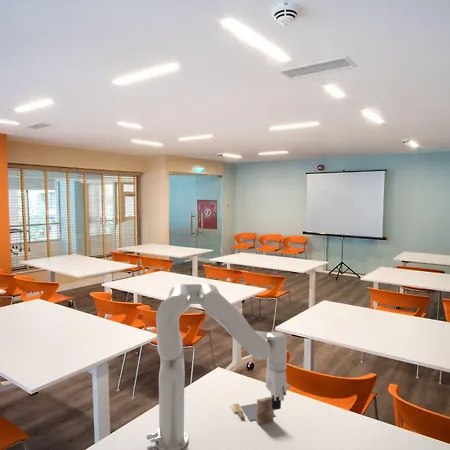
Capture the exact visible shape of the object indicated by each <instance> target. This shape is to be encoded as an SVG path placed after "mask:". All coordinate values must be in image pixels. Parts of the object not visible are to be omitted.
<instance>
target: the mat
mask: <svg viewBox="0 0 450 450" xmlns="http://www.w3.org/2000/svg"><path fill="white" fill-rule="evenodd" d="M240 407H241V409H242V410H243V412H244V413H243V414H245V416H246V418H247V419H248V420H249V422H253V421H256V420H257V402H256V403H251V404H244V405H241V406H240ZM274 417H276V414H275V413H274V415H273V418H274Z"/></svg>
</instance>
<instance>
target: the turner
mask: <svg viewBox="0 0 450 450" xmlns="http://www.w3.org/2000/svg"><path fill="white" fill-rule="evenodd" d="M229 407H230V409H231V410H232V412H233V413H234V414H237V415H238V417H239V418H240V420H241V421H242V420H245V419H246V418H245V416H246V415H244V413H243V412H244V411H243V409H242V408H241V406H240V404H239V403H234V404H230V405H229Z"/></svg>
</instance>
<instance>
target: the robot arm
mask: <svg viewBox="0 0 450 450" xmlns="http://www.w3.org/2000/svg"><path fill="white" fill-rule="evenodd" d="M191 305H199V306H200V307H201V309H203V310H204V311H205V312H206V314H208V315H209V316H210V317H211V318H213V319H214V320H215V321H216V322H217V323H218V324H219V325H221V326H222V328H224V329H225V330H226V331H227V333H228V334H229V335H230V336H231V337H232V338H233V339H234V340H235V341H236V343H238V344H239V345H240V346H241V347H242V348H243V349H244V350H245V351H246V352H247V353H248V354H249V355H251V356H252V357H253V358H254V359H255V360H258V361H265V360H266V363H267V364H266V371H265V387H266V389H267V390H268V391H269V392H270V394H271V395H270V397H272V408H273V410H274V411H276V410H280V409H281V408H282V402H283V401H285V396H286V395H287V389H288V388H287V386H288V385H287V384H288V383H287V382H288V381H287V371H286V370H287V346H288V345H287V343H288V342H287V341H288V340H287V335H286V333H284V332H283V331H282V332H281V331H270V332H269V331H260V330H255V329H253V327H252V326H251V325H250V323H248V321H247V320H246V318H245V317H244V315H243V313H241V311H239V310H238V309H237V307H235V306H234V305H233V304H232V303H230V301H229V300H228V299H226V298H225V297H224V296H223V295H222V294H221V293H220V292H219V289H218V287H217V286H215V285H214V284H209V283H178V284H175V285H174V286H172V287H171V288H170V291H169V294H168V297H167V298H166V299H165V300H164V301H162V302H161V304H160V305H159V307H158V308H157V310H156V312H155V313H156V314H155V325H156V340H157V347H156V348H157V353H158V355H159V357H160V358H159V359H160V366H159V367H160V368H159V373H158V405H159V407H158V411H159V412H158V414H159V415H158V423H159V424H158V428H157V431H154V432H152V433H147V434H146V440H150V444H151V443H154V445H155V447H156V448H157V449H158V450H182V449H184V448H185V447H186V446H187V444H188V440H189V435H188V434H187V432H185V382H186V381H185V380H186V379H185V377H186V375H185V357H184V343H183V336H182V335H183V334H182V332H181V331H180V317H181V315H182V314H185V312H186V311H187V310H188V309H189V308H190V306H191Z"/></svg>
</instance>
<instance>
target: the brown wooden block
mask: <svg viewBox="0 0 450 450" xmlns="http://www.w3.org/2000/svg"><path fill="white" fill-rule="evenodd" d="M256 403H257V420H255V421H256V423H257V424H258V425H262V424H268V423H271V422H272V423H273V422H274V417H273V415H274V414H275V410H273V408H272V397H271V396H268V397H262V398H257V399H256Z"/></svg>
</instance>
